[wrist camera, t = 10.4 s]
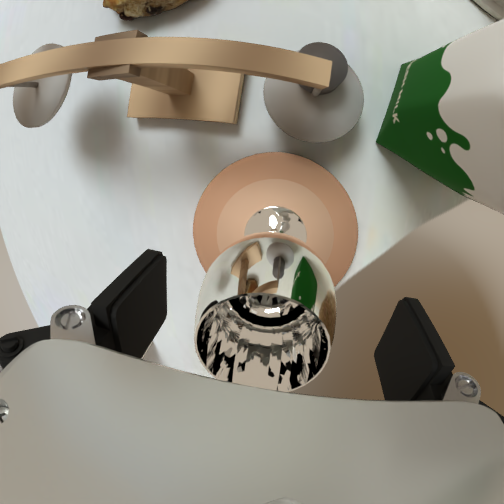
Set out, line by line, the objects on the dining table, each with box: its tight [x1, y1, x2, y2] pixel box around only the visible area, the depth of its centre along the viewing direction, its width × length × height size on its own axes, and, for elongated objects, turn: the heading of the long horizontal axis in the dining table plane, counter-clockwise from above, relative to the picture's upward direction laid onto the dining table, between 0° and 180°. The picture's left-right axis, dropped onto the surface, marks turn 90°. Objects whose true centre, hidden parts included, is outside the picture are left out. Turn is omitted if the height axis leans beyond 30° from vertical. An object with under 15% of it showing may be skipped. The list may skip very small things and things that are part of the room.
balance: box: [0, 30, 364, 143], centre depth 12 cm, size 24×6×12 cm, turn 81°
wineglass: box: [194, 206, 336, 392], centre depth 15 cm, size 6×6×12 cm
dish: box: [193, 152, 358, 287], centre depth 21 cm, size 12×12×1 cm
